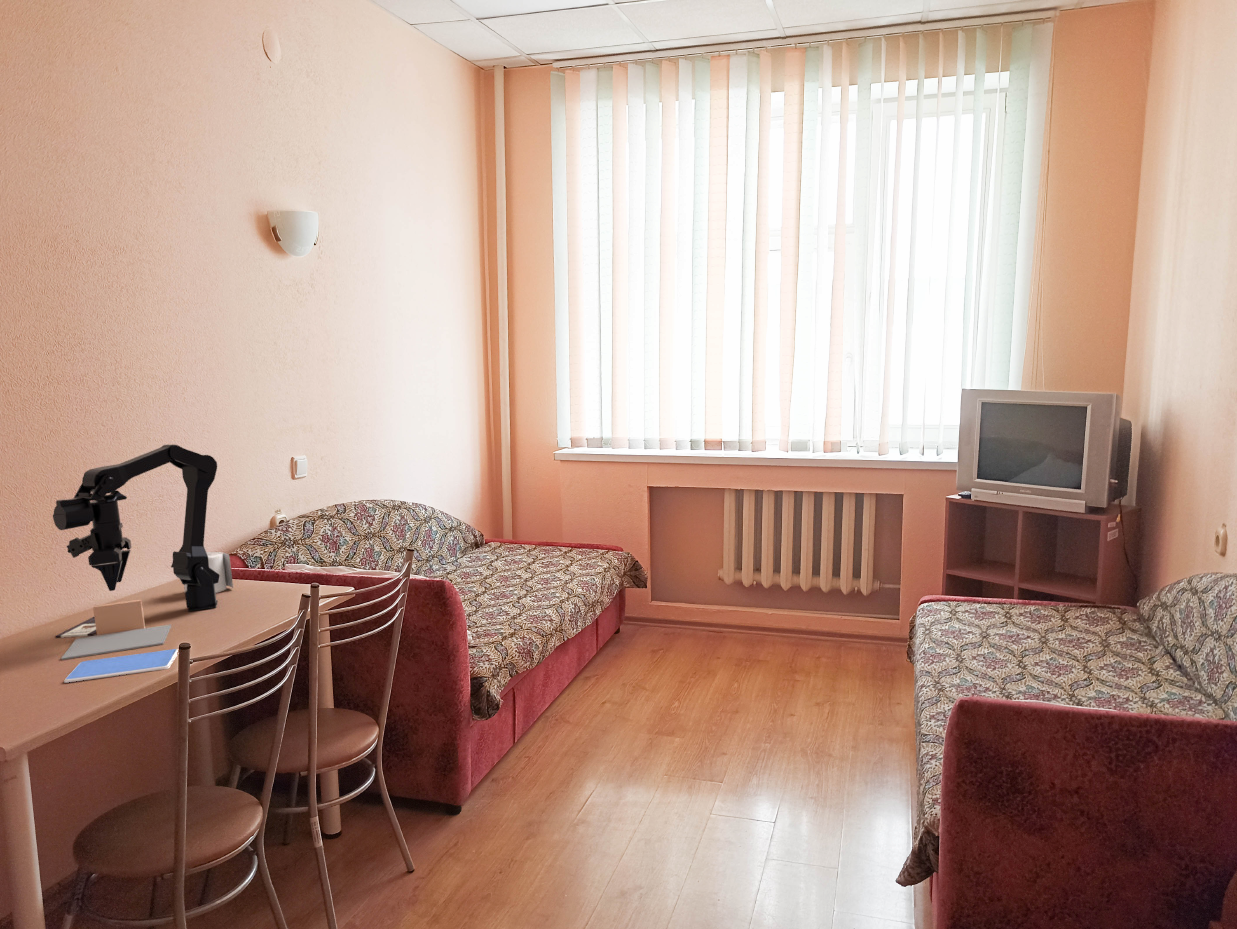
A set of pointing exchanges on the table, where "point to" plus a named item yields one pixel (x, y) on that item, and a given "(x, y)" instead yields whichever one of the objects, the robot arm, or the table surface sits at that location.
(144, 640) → the mat
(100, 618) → the tile
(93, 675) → the tablet computer
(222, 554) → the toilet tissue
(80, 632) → the chocolate bar
